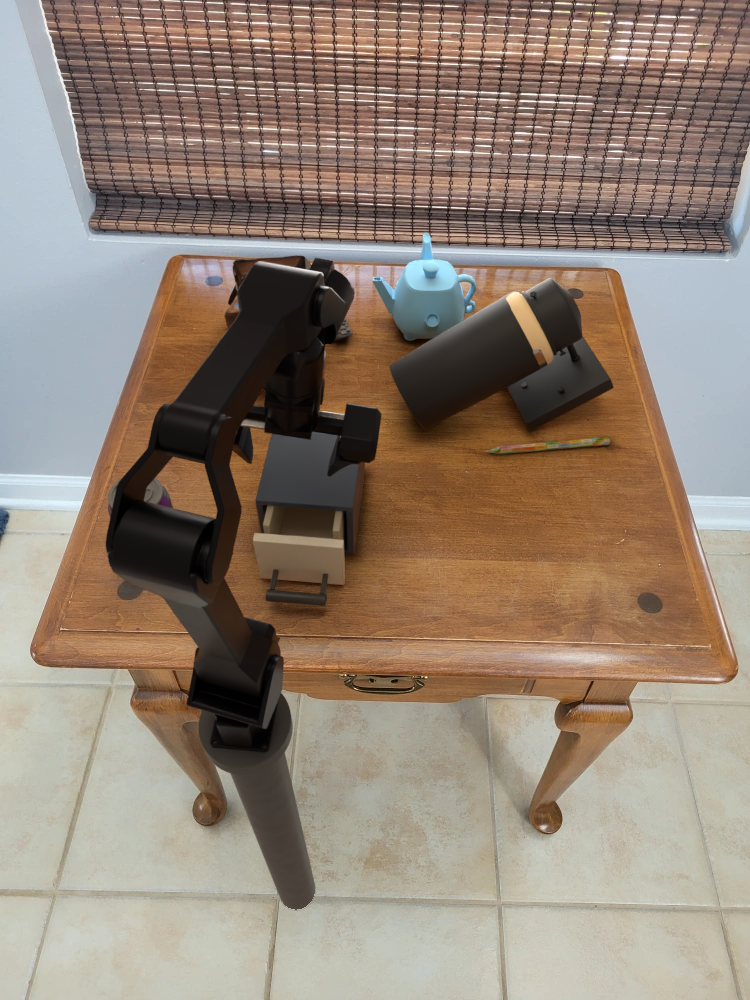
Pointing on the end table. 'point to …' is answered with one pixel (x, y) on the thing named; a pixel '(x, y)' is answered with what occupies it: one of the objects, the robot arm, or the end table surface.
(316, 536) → the drawer
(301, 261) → the lantern
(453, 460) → the end table surface
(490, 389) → the light fixture
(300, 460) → the cabinet
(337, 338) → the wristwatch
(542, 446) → the pencil
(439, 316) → the teapot
